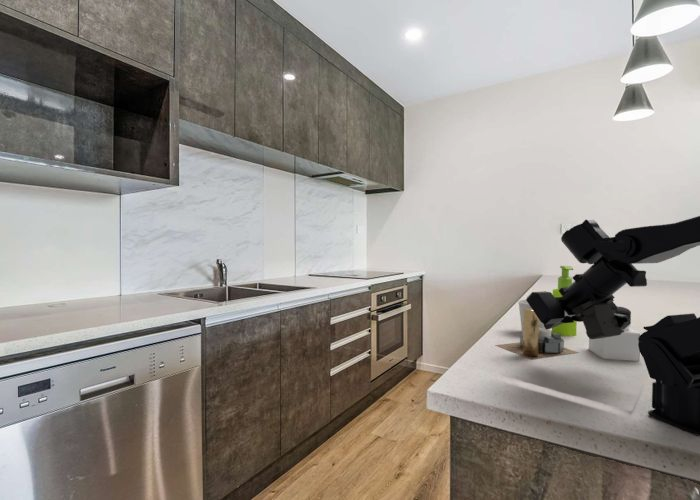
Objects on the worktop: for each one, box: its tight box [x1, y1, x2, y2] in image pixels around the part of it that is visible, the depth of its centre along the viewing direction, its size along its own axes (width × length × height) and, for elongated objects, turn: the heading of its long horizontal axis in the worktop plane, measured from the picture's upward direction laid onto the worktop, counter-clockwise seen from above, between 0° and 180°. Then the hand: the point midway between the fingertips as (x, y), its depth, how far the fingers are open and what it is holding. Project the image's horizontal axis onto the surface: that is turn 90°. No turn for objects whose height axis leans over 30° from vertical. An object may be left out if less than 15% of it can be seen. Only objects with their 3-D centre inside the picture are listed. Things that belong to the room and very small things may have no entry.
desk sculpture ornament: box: [519, 309, 565, 356], centre depth 83 cm, size 9×14×10 cm, turn 135°
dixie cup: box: [517, 298, 545, 333], centre depth 98 cm, size 8×8×10 cm
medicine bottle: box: [588, 305, 641, 362], centre depth 80 cm, size 7×7×12 cm
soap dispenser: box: [551, 265, 578, 337], centre depth 98 cm, size 6×7×20 cm
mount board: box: [495, 328, 580, 361], centre depth 84 cm, size 11×14×5 cm
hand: (546, 327), depth 76 cm, fingers closed
